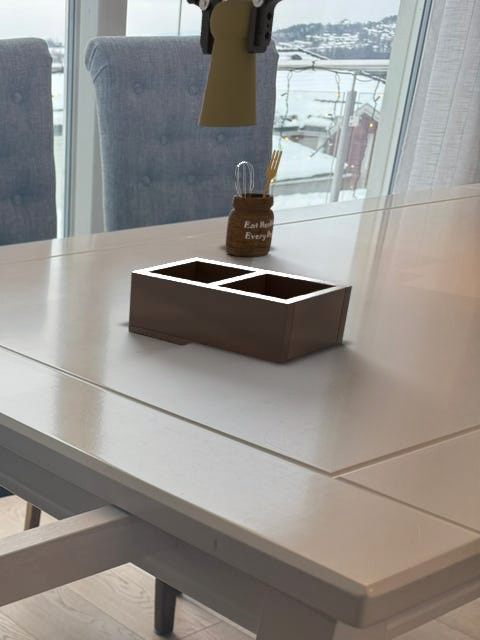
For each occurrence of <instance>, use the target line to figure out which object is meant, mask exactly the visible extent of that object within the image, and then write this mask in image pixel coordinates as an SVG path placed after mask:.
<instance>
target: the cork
mask: <svg viewBox="0 0 480 640" xmlns="http://www.w3.org/2000/svg"><path fill="white" fill-rule="evenodd" d="M255 8H256V7H255V6H254V4H253V0H225V1H223V2H220V3H218V4H217V5H215V7H214V9H213V11H212V14H211V17H210V29H211V33H212V35H213V37H214V44H213V49H212V54H211V55H210V60H209V66H208V71H207V75H206V82H205V85H204V91H203V97H202V101H201V108H200V114H199V118H198V124H197V126H198V127H202V128H240V127H253V126H256V125H257V63H256V62H257V56H256V55H257V53H251V54H250V53H248V49H247V48H248V38H249V27H250V17H251V9H255Z"/></svg>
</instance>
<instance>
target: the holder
mask: <svg viewBox="0 0 480 640" xmlns="http://www.w3.org/2000/svg"><path fill="white" fill-rule="evenodd" d="M352 290H353V286H352V285H349V284H344V283H338V282H333V281H329V280H328V281H327V280H322V279H315V278H311V277H305V276H299V275H294V274H288V273H283V272H276V271H272V270H265V269H260V268H254V267H250V266H244V265H238V264H233V263H228V262H227V263H226V262H221V261H216V260H210V259H205V258H199V257H194V258H189V259H185V260H180V261H176V262H170V263H167V264H162V265H157V266H153V267H147V268H144V269H138V270H133V271H131V277H130V295H129V311H128V328H127V329H128V332H132V333H135V334H138V335H142V336H147V337H150V338H154V339H157V340H163V341H166V342H169V343H174V344H178V345H182V346H187V345H190V344H193V343H197V344H201V345H205V346H209V347H212V348H217V349H219V350H225V351H228V352H232V353H236V354H239V355H244V356H247V357H252V358H255V359H260V360H264V361H267V362H270V363H274V364H275V363H276V364H283V363H285V362H289V361H292V360H295V359H298V358H301V357H303V356H307V355H311V354H313V353H316V352H318V351H319V352H320V351H322V350H325V349H328V348H331V347H335V346H337V345H340V344H342V343H343V341H344V333H345V328H346V323H347V318H348V312H349V305H350V300H351V295H352Z"/></svg>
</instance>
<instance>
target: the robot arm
mask: <svg viewBox="0 0 480 640" xmlns="http://www.w3.org/2000/svg"><path fill="white" fill-rule="evenodd" d="M223 1H225V0H186V3H187V4H188V5H194V6H196V7H197V8H199V9H200V10H201V11H200V12H201V21H200V37H199V44H200V48H201V52H202V55H206V56H207V55H210V56H211V54H212V49H213V44H214V37H213V35H212V33H211V29H210V17H211V14H212V11H213V9H214V7H215V5H217V4H218V3H220V2H223ZM282 1H283V0H253V4H254V6H255V7H256V8H255V9H251V17H250V27H249V38H248V48H247V49H248V53H250V54H251V53H256V54H265V53H266V51H267V49H268V47H269V46H270V44H271V41H272V34H273V33H272V32H273V27H274V26H273V25H274V17H275V9H276V7H277V5H278V4H279V3H281V2H282Z"/></svg>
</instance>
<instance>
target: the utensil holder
mask: <svg viewBox="0 0 480 640" xmlns="http://www.w3.org/2000/svg"><path fill="white" fill-rule="evenodd" d="M282 155H283V150H279V149H277V150H276V149H274V150H273V151H272V154H271V158H270V161H269V164H268V167H267V170H266V173H265V177H266V178H267V182H266V185H265V189H264V191H263V193H262V192H253V189H254V187H252V186H254V184H255V181H252V179H253V177H255V172H254V167H253V165H252V164H251V163H250V162H248V161H242V162H240V163H239V164H238V166H236V167H235V170H234V173H236V171H237V173H236V175H237V182H235V183H234V184H235V187H236V188H235V189H236V190H235V191H236V194H234V195H233V198H232V201H231V205H232V207H233V208H232V209H231V210H230V212H229V214H228V219H227V225H226V234H225V244H224V245H225V248H224V249H225V253H226V254H228V255H230V256H235V257H242V258H243V257H245V258H250V257H252V258H254V257H262V256H267V255H268V254H269V252H270V251H271V246H272V241H273V232H274V226H275V225H274V224H275V214H274V213H275V212H274V211H273V210H272V209H271V208H272V207H273V206H274V205H275V198H274V197H275V196H274V195H273V194H270V193H268V192H269V188H270V184H271V181H272V180H273V179H275V178H276V177H277V176H276V175H277V173H278V170H279V165H280V162H281V159H282ZM241 165H243V166H242V167H243V168H242V169H243V170H242V173H243V174H242V176H243V179H242V180H243V184H244V192H243V193H242V192H241V191H240V190H241V188H240V186H239V183H240V180H239V179H240V177H239V174H240V173H239V170H240V167H241ZM245 165H247V166H248V170H250V175H249V181H250V183H249V192H246V189H247V188H246V181H245ZM249 165H250V166H249ZM237 168H238V169H237ZM251 169H252V170H251ZM252 172H253V173H252ZM252 182H253V184H252Z"/></svg>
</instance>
